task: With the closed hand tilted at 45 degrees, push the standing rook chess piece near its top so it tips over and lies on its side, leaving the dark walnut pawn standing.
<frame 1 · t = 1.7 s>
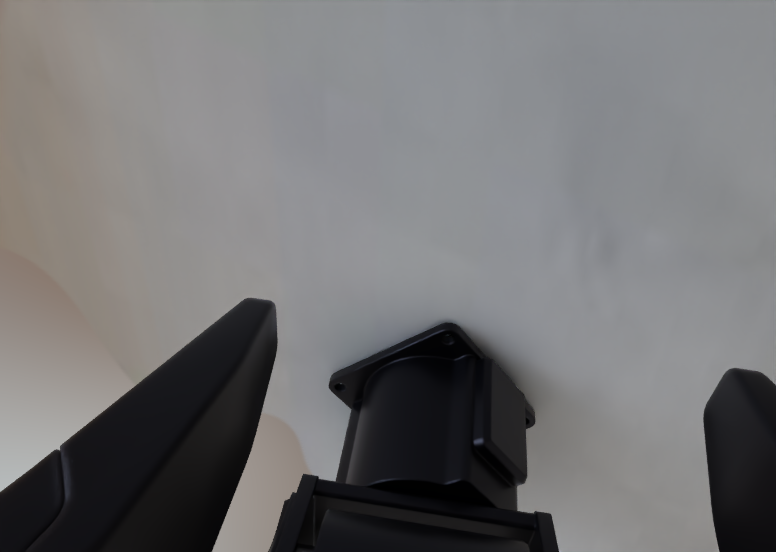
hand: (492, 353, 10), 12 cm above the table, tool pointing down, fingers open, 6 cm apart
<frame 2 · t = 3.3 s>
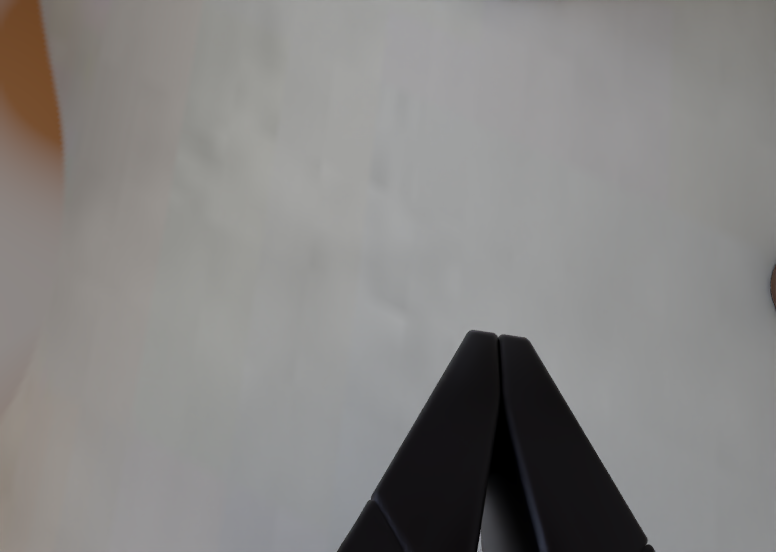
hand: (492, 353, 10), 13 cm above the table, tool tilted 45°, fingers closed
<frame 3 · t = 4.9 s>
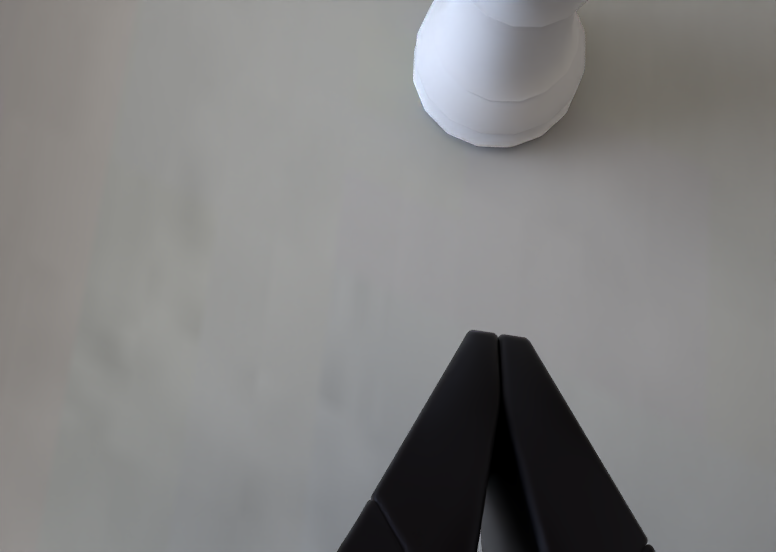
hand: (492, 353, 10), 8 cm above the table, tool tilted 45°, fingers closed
rook chess piece: (493, 77, 18), on the table
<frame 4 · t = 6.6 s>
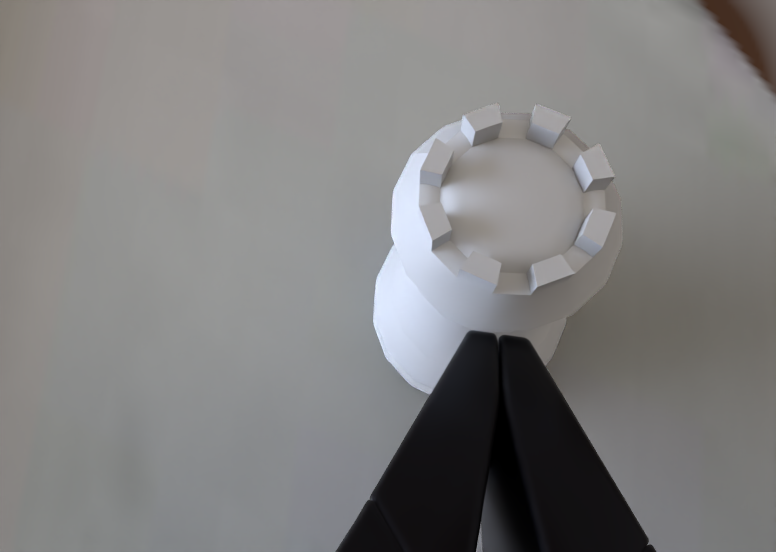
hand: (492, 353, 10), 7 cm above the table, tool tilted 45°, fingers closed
rook chess piece: (464, 314, 16), on the table
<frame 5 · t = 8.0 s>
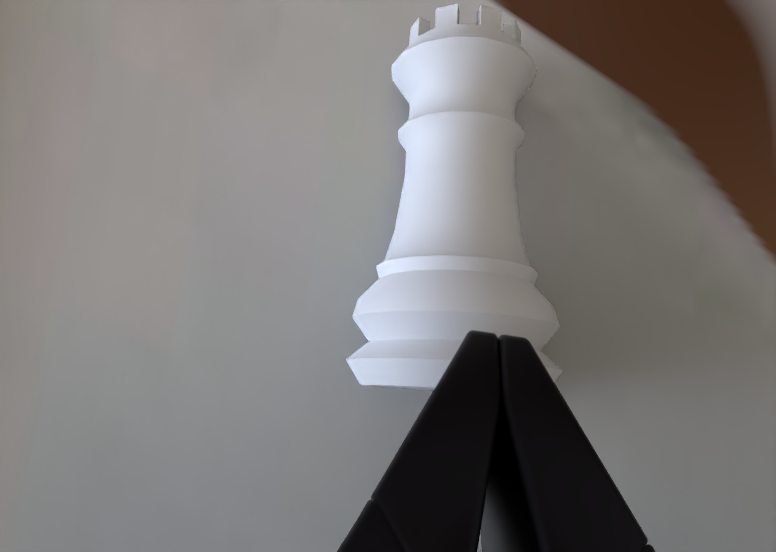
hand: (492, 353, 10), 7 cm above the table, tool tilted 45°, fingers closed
rook chess piece: (451, 399, 14), point 2 cm above the table
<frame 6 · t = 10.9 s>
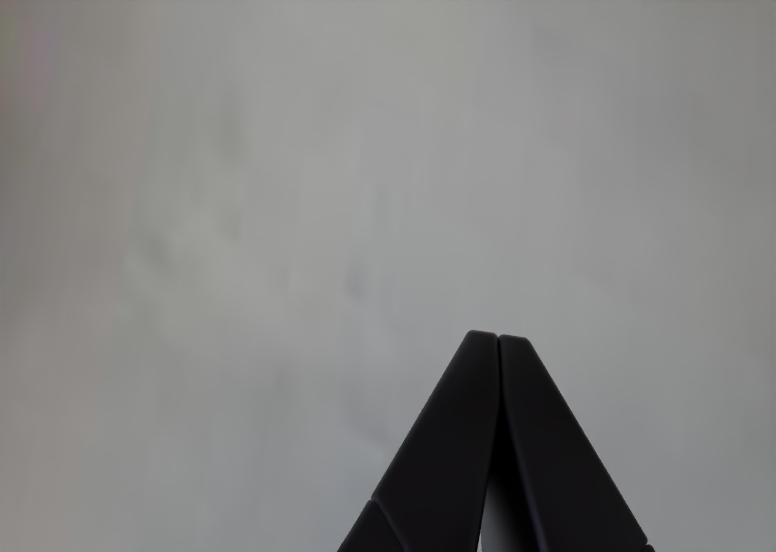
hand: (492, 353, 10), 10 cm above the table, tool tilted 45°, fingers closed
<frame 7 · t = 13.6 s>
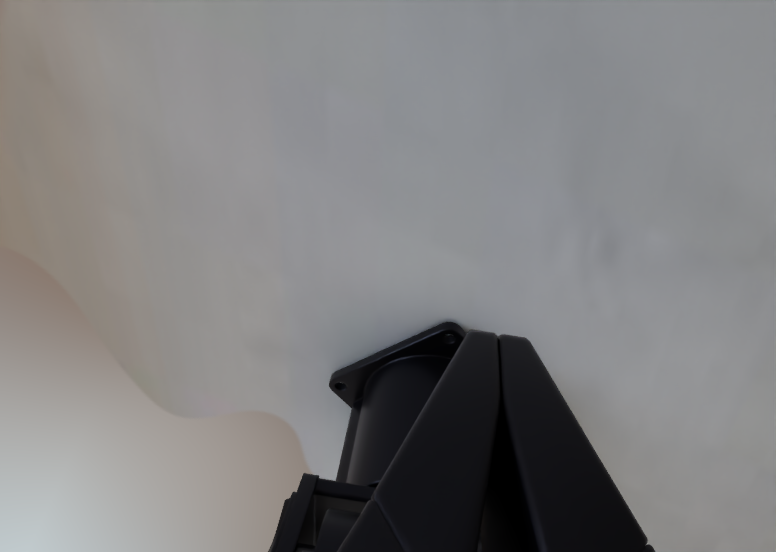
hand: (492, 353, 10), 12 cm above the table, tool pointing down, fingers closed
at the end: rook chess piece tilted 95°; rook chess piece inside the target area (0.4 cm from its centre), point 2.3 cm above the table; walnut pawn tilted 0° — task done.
